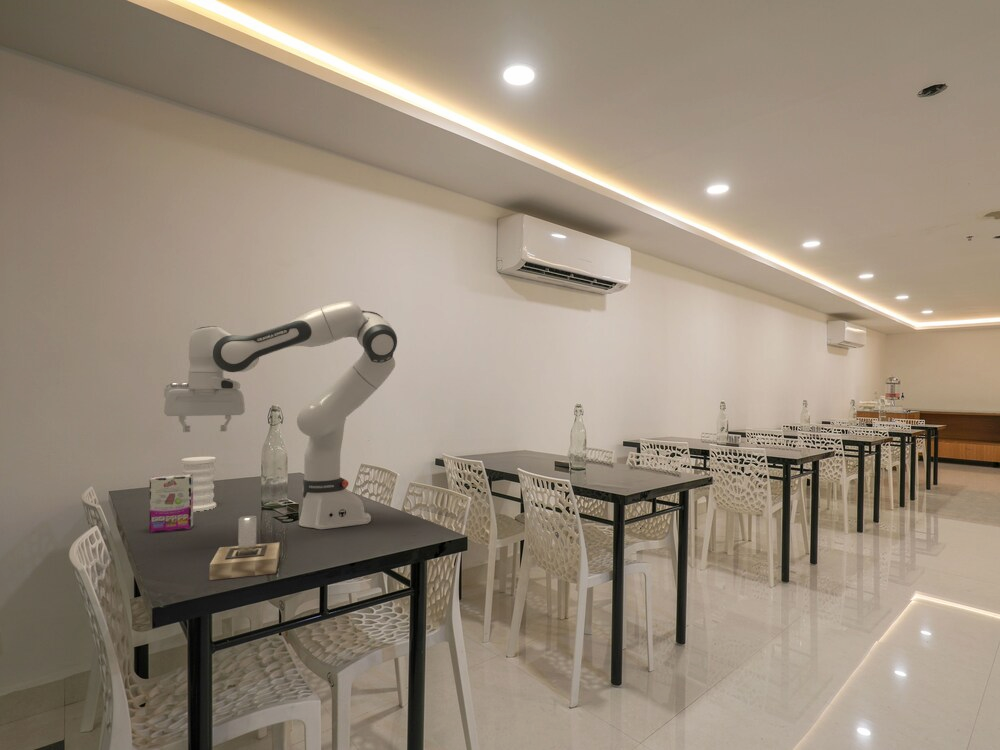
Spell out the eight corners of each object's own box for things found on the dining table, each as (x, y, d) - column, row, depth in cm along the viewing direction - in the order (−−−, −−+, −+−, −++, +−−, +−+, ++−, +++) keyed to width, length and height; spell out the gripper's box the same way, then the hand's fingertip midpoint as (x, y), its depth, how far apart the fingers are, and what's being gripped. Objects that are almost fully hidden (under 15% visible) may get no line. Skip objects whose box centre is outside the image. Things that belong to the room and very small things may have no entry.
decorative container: (217, 509, 196) (217, 459, 196) (179, 513, 190) (180, 461, 190) (215, 503, 206) (216, 455, 206) (179, 507, 200) (180, 457, 200)
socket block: (279, 555, 142) (279, 541, 143) (275, 573, 129) (276, 557, 129) (219, 561, 138) (219, 546, 138) (209, 580, 125) (209, 563, 125)
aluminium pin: (256, 563, 136) (257, 515, 136) (255, 568, 132) (255, 518, 133) (239, 565, 135) (239, 516, 135) (237, 570, 131) (237, 520, 131)
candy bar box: (193, 525, 173) (194, 473, 173) (190, 529, 168) (191, 476, 169) (152, 529, 169) (152, 475, 169) (148, 533, 164) (149, 478, 165)
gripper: (161, 382, 150) (160, 433, 150) (243, 383, 157) (242, 431, 156) (167, 383, 156) (166, 431, 156) (245, 383, 163) (245, 430, 162)
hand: (205, 431), depth 156 cm, fingers open, 8 cm apart
